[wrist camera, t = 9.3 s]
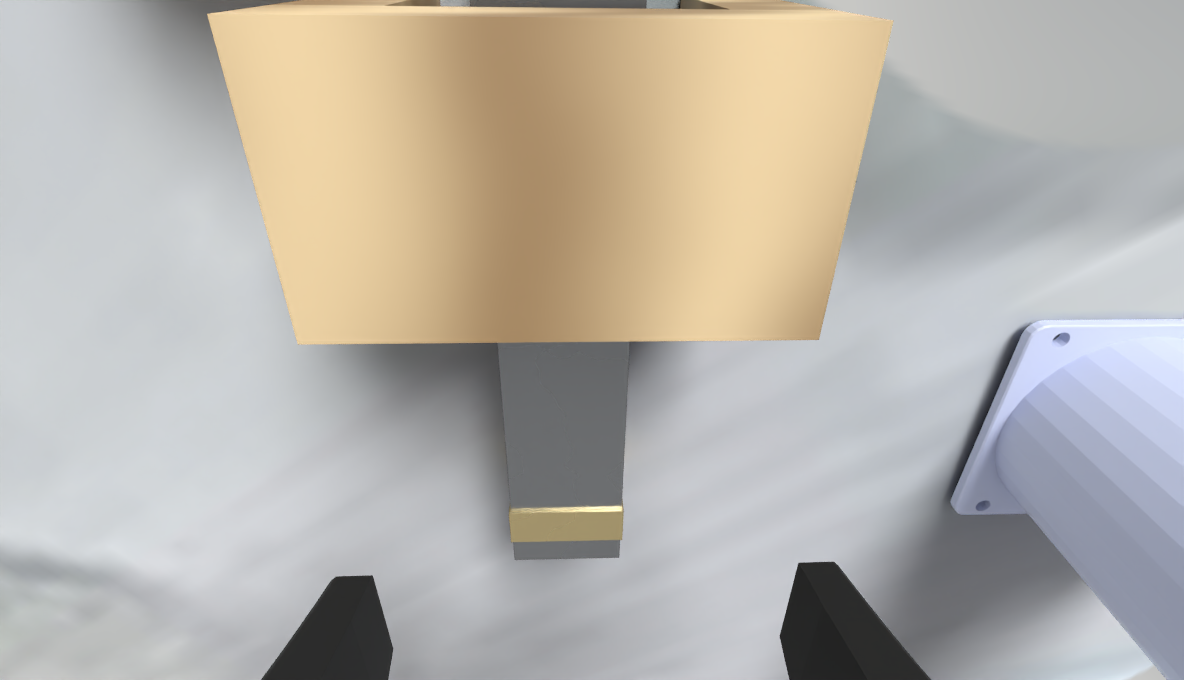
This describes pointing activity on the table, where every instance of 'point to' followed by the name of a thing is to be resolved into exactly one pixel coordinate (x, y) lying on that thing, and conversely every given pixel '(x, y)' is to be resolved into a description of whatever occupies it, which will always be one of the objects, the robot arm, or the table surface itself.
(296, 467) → the table surface
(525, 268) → the wooden u-shaped cradle
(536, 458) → the dark grey bar
